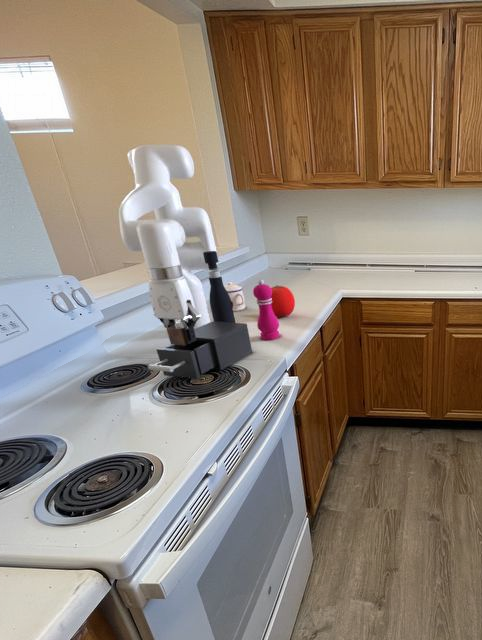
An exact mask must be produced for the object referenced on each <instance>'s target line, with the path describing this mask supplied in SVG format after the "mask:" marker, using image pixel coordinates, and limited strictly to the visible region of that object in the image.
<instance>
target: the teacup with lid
mask: <svg viewBox="0 0 482 640" xmlns="http://www.w3.org/2000/svg"><path fill="white" fill-rule="evenodd" d="M224 287H225V289H226V291H227V292H228V294H229V297H230V299H231V303H232V308H233V312H239V311H242V310H245V309H246V304H245V303H246V298H245V296H244V292H243V287H242V286H240V285H237V284H233V282H232V281H228V282H227V284H226V285H224Z"/></svg>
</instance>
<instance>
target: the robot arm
mask: <svg viewBox="0 0 482 640" xmlns="http://www.w3.org/2000/svg"><path fill="white" fill-rule="evenodd" d="M127 160H128V163H129V165H130V167H131V169H132V171H133V176H134V184H135V188H134V189H133V190H132V191H130V193H129V194H128V195H126V197H125V198H124V199H123V201H121V204H120V206H119V209H118V221H119V222H118V223H119V231H120V236H121V240H122V242H123V244H124V246H125V247H126V248H127V249H128V250H130V251H132V252H138V253H139V252H141V253H142V255H143V258H144V262H145V266H146V269H147V270H146V271H147V273H148V276H149V279H148V292H149V298H150V299H149V300H150V303H151V308H152V312H153V315H154V317H155V318H157V319H158V320H159V321H160V322H161V323H162V324H163V327H164V328H165V329H167V328H169V327H171V326H174V325H177V324H179V323H181V324H182V325H183V327H184V330H183V333H184V337H185V341H186V343H187V344H190V343H192V342H194V341H196V335H195V331H194V329H196V328H198V327H201V326H203V325H205V324H208V323H210V322H211V318H210V314H209V313H210V312H209V309H208V305H207V301H206V296H205V292H204V287H203V283H202V281H201V280H200V278H199V277H198V276H196V275H195V274H194V273H193V272H191V271H199V270H209V267H208V264H206V263H205V260H204V255H203V252H208V251H216V252H217V253H218V251H217V247H216V241H215V237H214V232H213V227H212V224H211V220H210V216H209V214H208V212H207V211H206V210H205V209H204V208H202V207H198V206H185V207H184V206H183V204H182V199H181V195H180V192H179V190H178V188H177V187H176V186H175V185H174V184H173V183H172V182H171V180H175V179H177V180H179V179H180V180H181V179H182V180H183V179H186V180H187V179H193V177H194V175H195V163H194V159H193V157H192V155H191V153H190V152H189V150H188V149H187V148H186V147H184V146H182V145H179V144H143V145H139V146H137V147H136V148H133V149H130V150H129V151H128V153H127ZM152 212H154V216H155V219H140V218H141V217H143V216H145V215H146V214H149V213H152ZM186 238H187V239H189V238H197V239H199V240H195V241H194V240H193V241H192V240H191V241H186ZM217 257H218V258H219V256H218V254H217ZM218 265H219V262H218V263H217V266H218Z"/></svg>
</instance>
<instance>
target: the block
mask: <svg viewBox="0 0 482 640" xmlns="http://www.w3.org/2000/svg"><path fill="white" fill-rule="evenodd" d="M183 330H184V327H183V325H182V324H181V323H179V324H177V325H174V326H171V327H169V328H166V332H167V336H168V339H169V342H170V345H171V344H174V345H186V344H187V343H186V341H185V337H184V333H183Z"/></svg>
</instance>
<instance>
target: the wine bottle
mask: <svg viewBox="0 0 482 640" xmlns="http://www.w3.org/2000/svg"><path fill="white" fill-rule="evenodd" d="M203 255H204V260H205V263H206V264H208V267H209V269H208V270H209V271H208V281H209V285H210V286H209V287H210V288H209V289H210V290H209V306H210V310H211V314H212V321H216V322H230V323H236V318H235V314H234V311H233V308H232V303H231V299H230V297H229V294H228V292H227V291H226V289H225V285H224V281H223V276H221V272H220V270H218V269H219V268H218V265H217V263H218V264H219V256H218V257H217V255H218V251H217V252H216V251H208V252H203Z"/></svg>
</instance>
